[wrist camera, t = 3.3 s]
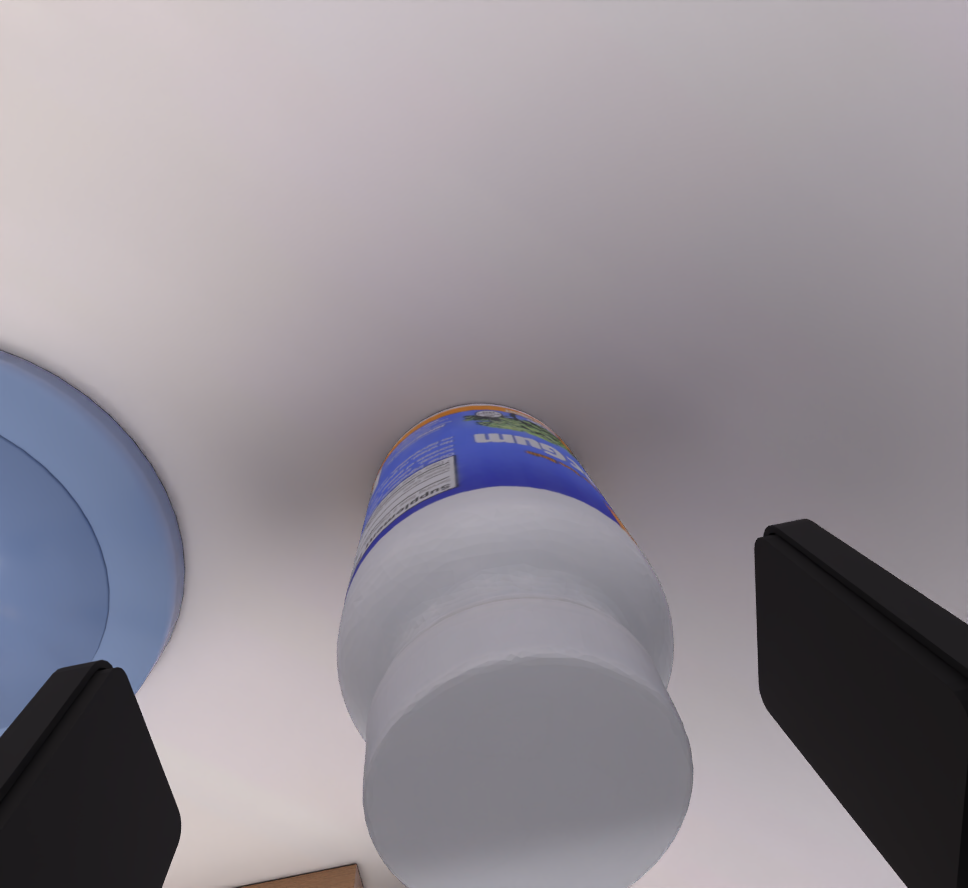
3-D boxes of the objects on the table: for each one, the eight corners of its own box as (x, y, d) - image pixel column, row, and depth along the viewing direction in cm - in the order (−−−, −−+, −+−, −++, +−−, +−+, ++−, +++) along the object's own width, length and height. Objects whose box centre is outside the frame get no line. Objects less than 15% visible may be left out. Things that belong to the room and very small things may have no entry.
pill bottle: (621, 487, 17) (855, 762, 8) (486, 629, 18) (552, 1030, 9) (466, 353, 16) (525, 492, 6) (327, 513, 17) (204, 841, 7)
